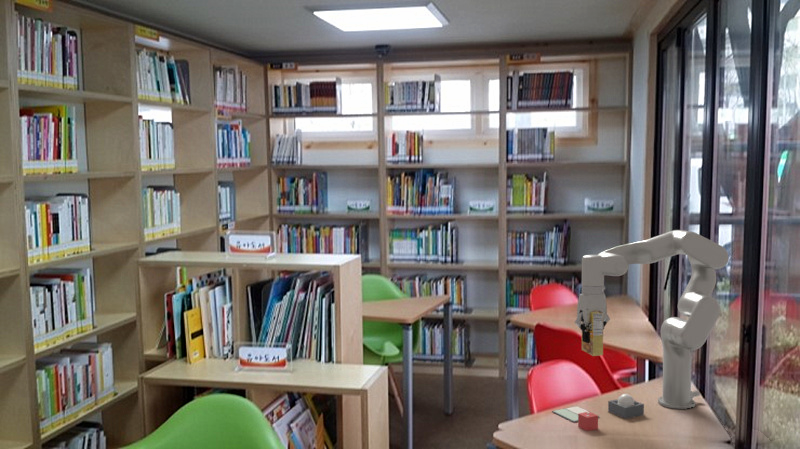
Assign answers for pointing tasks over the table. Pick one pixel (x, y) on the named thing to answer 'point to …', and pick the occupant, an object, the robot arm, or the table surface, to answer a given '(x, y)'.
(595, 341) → the candy box
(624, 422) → the table surface
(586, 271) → the robot arm
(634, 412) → the housing
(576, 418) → the striped board
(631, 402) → the white round ball
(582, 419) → the red die
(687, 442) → the table surface
